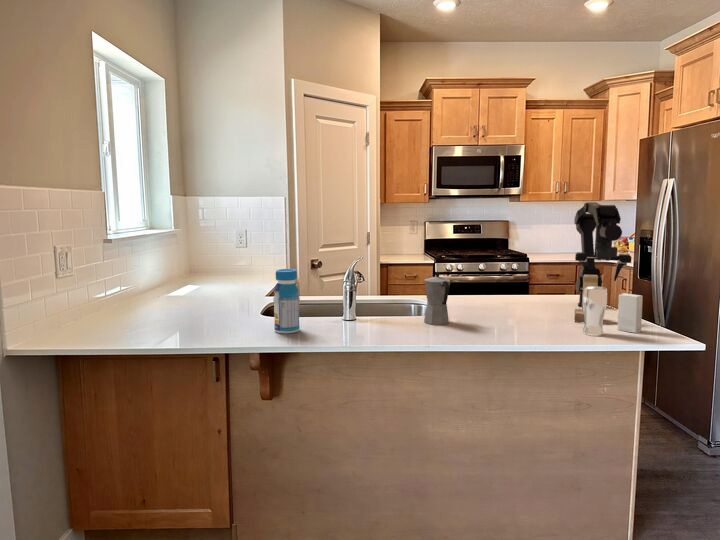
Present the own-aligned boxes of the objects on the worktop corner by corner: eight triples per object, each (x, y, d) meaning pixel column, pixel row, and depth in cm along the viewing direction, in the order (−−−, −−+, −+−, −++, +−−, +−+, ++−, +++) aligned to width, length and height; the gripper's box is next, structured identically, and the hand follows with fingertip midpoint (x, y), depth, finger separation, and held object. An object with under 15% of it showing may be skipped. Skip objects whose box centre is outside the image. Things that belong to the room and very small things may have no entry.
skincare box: (641, 331, 167) (644, 295, 165) (635, 333, 164) (638, 296, 162) (622, 328, 172) (624, 292, 170) (616, 330, 169) (618, 294, 167)
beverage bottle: (289, 335, 161) (288, 272, 158) (268, 331, 165) (267, 270, 162) (305, 329, 168) (304, 269, 165) (284, 326, 172) (283, 267, 169)
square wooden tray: (574, 316, 188) (575, 308, 188) (601, 319, 185) (601, 310, 184) (574, 322, 180) (574, 313, 180) (602, 324, 177) (603, 315, 176)
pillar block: (581, 310, 185) (583, 274, 183) (595, 311, 183) (597, 275, 182) (581, 312, 181) (584, 275, 179) (595, 313, 179) (598, 276, 177)
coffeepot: (417, 319, 184) (417, 269, 182) (441, 317, 186) (442, 268, 184) (434, 329, 169) (435, 275, 167) (459, 327, 172) (461, 274, 169)
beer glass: (603, 337, 159) (606, 290, 157) (579, 334, 163) (582, 288, 161) (606, 332, 165) (609, 287, 163) (582, 330, 169) (585, 285, 167)
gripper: (576, 239, 185) (574, 281, 187) (634, 241, 178) (631, 285, 180) (576, 237, 196) (574, 277, 197) (631, 239, 188) (628, 280, 190)
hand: (601, 280), depth 191 cm, fingers open, 9 cm apart
